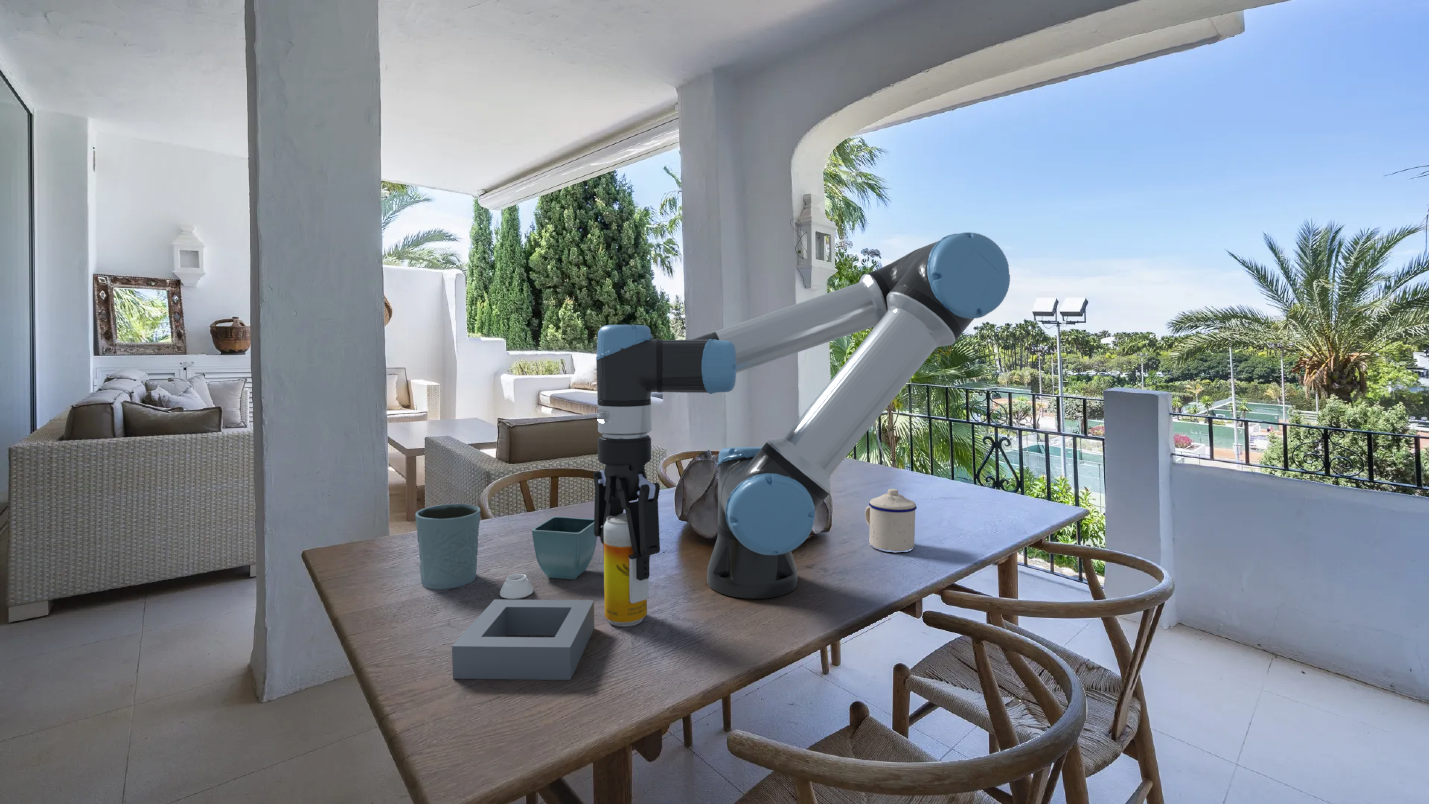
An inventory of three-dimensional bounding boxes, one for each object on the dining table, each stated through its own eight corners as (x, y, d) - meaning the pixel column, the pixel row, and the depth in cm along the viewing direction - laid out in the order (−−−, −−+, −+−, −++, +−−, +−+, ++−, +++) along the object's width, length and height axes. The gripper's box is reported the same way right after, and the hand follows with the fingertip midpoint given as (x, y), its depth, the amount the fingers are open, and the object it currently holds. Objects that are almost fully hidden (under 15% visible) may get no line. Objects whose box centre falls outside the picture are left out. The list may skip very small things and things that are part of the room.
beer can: (637, 630, 88) (636, 525, 87) (597, 625, 90) (596, 521, 88) (653, 613, 94) (652, 514, 92) (615, 608, 95) (614, 510, 94)
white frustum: (526, 586, 104) (496, 593, 102) (526, 569, 104) (495, 575, 101) (537, 596, 100) (505, 603, 97) (537, 578, 100) (505, 585, 97)
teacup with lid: (925, 550, 124) (927, 491, 123) (890, 557, 120) (892, 496, 119) (882, 534, 134) (883, 480, 133) (848, 540, 130) (850, 484, 129)
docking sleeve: (594, 627, 89) (594, 600, 88) (570, 679, 75) (570, 647, 74) (495, 627, 89) (494, 599, 89) (452, 678, 75) (451, 646, 75)
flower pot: (580, 585, 105) (579, 532, 104) (531, 581, 106) (530, 529, 106) (600, 568, 113) (599, 518, 112) (554, 564, 115) (553, 516, 114)
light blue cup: (425, 571, 111) (423, 504, 110) (486, 567, 113) (484, 501, 112) (410, 593, 101) (408, 519, 100) (477, 588, 103) (475, 516, 102)
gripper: (568, 430, 94) (570, 581, 96) (641, 444, 80) (642, 621, 82) (611, 426, 99) (612, 570, 101) (687, 439, 85) (687, 606, 87)
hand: (625, 593), depth 91 cm, fingers closed on beer can, 6 cm apart
